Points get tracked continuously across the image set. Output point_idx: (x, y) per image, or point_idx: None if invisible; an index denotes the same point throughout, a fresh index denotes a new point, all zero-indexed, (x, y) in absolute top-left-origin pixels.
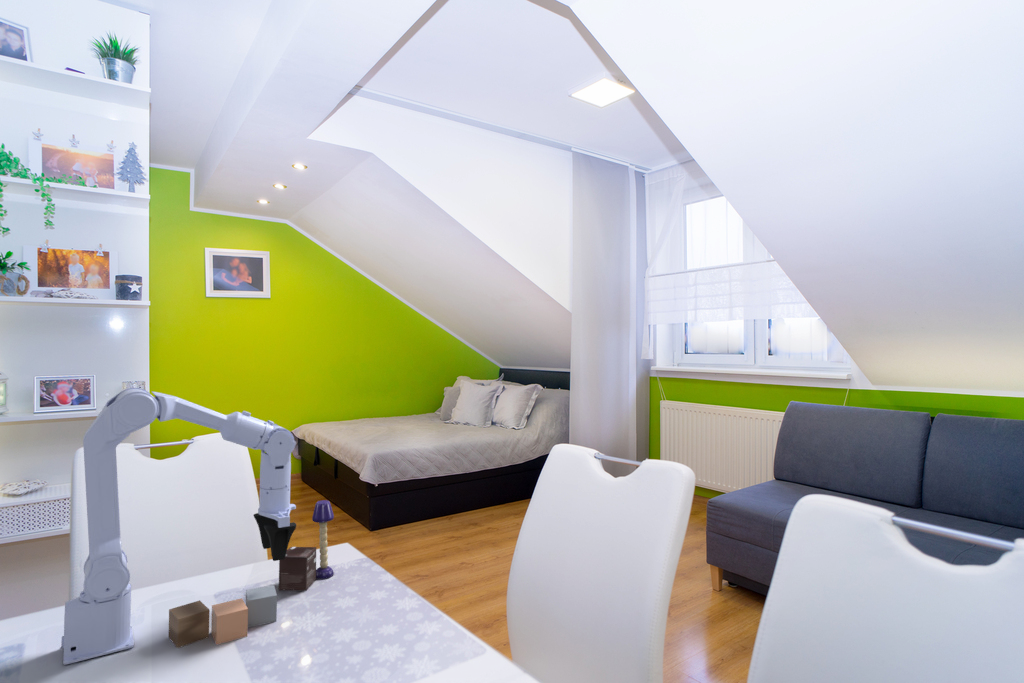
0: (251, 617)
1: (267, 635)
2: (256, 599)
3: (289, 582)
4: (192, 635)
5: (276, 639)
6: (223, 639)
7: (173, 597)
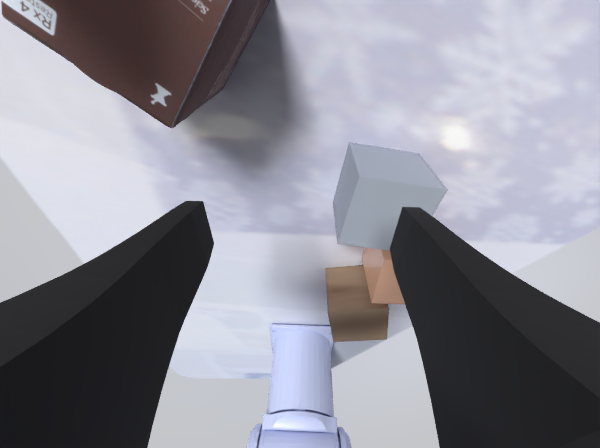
0: None
1: (467, 188)
2: None
3: (233, 61)
4: None
5: (505, 177)
6: None
7: None
